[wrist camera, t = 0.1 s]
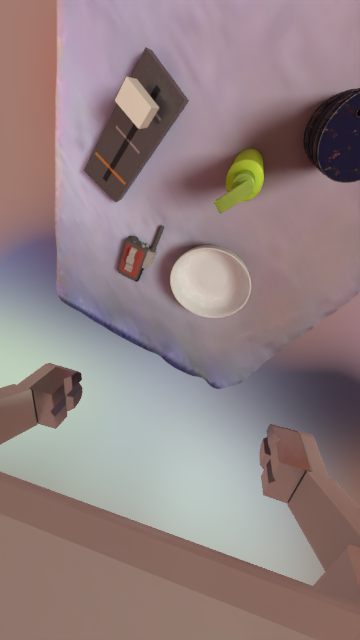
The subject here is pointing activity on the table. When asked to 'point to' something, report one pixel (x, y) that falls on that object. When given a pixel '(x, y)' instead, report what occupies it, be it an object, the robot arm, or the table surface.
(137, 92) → the fader knob
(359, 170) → the black ridged cylinder
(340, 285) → the table surface
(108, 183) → the fader panel
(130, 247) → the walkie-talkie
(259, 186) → the soap dispenser
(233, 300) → the serving bowl
